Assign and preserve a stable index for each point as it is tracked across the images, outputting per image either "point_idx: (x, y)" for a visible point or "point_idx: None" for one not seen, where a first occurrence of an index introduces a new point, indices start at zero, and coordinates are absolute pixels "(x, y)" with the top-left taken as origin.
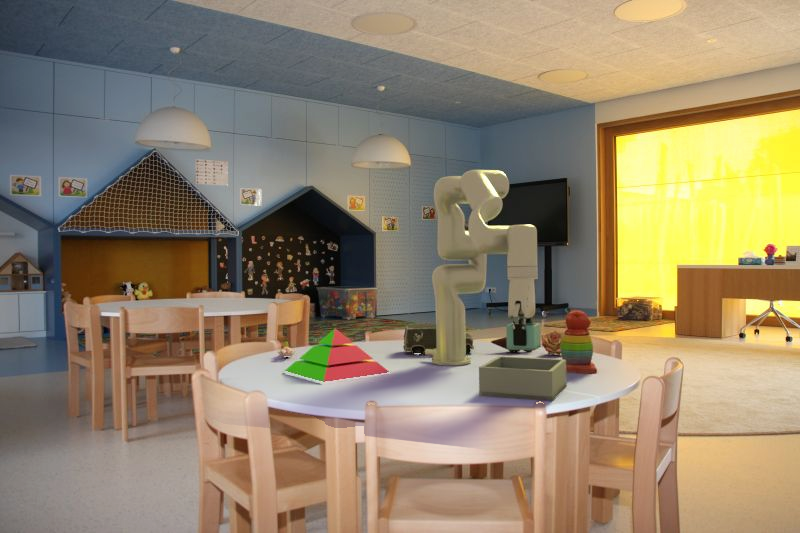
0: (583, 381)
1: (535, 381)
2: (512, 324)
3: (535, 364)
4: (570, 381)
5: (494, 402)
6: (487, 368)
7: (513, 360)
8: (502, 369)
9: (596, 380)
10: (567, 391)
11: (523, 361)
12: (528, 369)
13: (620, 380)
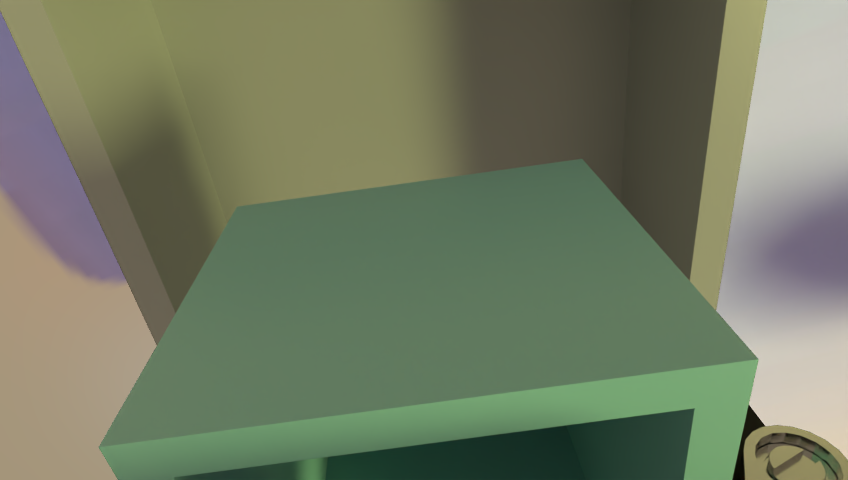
0: (785, 331)
1: None
2: (454, 432)
3: (672, 211)
4: (774, 280)
5: (15, 120)
6: (15, 33)
7: (705, 22)
8: (85, 177)
9: (822, 370)
10: None
11: (692, 121)
12: None
13: (835, 442)
